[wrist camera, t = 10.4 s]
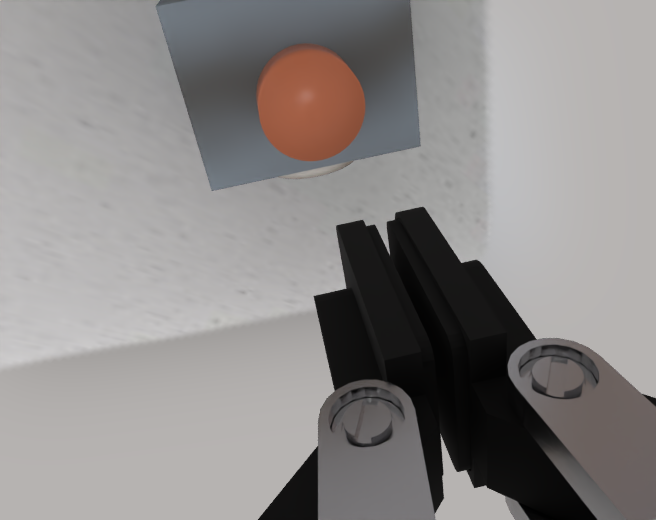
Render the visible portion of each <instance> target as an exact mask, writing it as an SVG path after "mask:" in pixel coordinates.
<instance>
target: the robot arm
mask: <svg viewBox="0 0 656 520" xmlns="http://www.w3.org/2000/svg"><path fill="white" fill-rule="evenodd" d="M336 230H337V236H338V242H339V248H340V253H341V259H342V265H343V270H344V276H345V282H346V288H347V289H343V290H339V291H334V292H330V293H326V294H321V295H317V296H314V300H315V304H316V309H317V314H318V318H319V322H320V327H321V332H322V336H323V341H324V345H325V350H326V354H327V359H328V363H329V368H330V372H331V377H332V381H333V385H334V389H335V392H334V393H333V394H331V395H330V396H329V397H328V398H327V399H326V401H325V402H324V404H323V406H322V408H321V409H320V414H319V419H318V446H317V448H316V449H315V450H314V451H313V452H312V454H311V455H310V456H309V457H308V459H307V460H306V461H305V462H304V464H303V465H302V466H301V467H300V469H299V470H298V471H297V472H296V473H295V475H294V476H293V477H292V478H291V480H290V481H289V482H288V483H287V484H286V486H285V487H284V488H283V489H282V491H281V492H280V493H279V494H278V496H277V497H276V498H275V499H274V500H273V502H272V503H271V504H270V505H269V507H268V508H267V509H266V510H265V512H264V513H263V514H262V515H261V516H260V518H259V519H258V520H435V513H436V511H437V509H438V507H439V506H440V504H441V502H442V500H443V499H444V495H443V482H442V476H443V463H442V449H441V436H442V438H443V440H444V443H445V446H446V448H447V450H448V453H449V455H450V458H451V460H452V463H453V465H454V467H455V469H456V471H457V472H460V471H464V470H467V472H468V475H469V477H470V479H471V482H472V484H473V486H474V488H477V487H481V486H485V485H486V486H487V488H489V489H491V490H494V491H496V492H498V493H500V494H502V495H504V496H505V499H506V503H507V505H508V508H509V510H510V512H511V514H512V515H513V517H514V519H515V520H656V398H653V397H650V396H647V395H644V394H641V393H640V392H639V391H638V390H637V389H636V388H635V387H633V386H632V385H631V384H630V383H629V382H628V381H627V380H626V379H625V378H624V377H622V375H620V374H619V373H618V372H617V371H616V370H615V369H614V368H613V367H612V366H611V365H610V364H608V363H607V362H606V361H605V360H604V359H603V358H602V357H601V356H600V355H598V354H597V353H595V352H594V351H593V350H591V349H590V348H588V347H586V346H584V345H582V344H579V343H577V342H574V341H569V340H564V339H560V338H542V339H538V340H537V339H536V338H535V336H534V335H533V334H532V332H531V331H530V330H529V328H528V327H527V325H526V324H525V323H524V321H523V320H522V318H521V317H520V316H519V314H518V313H517V312H516V310H515V309H514V307H513V306H512V305H511V303H510V302H509V301H508V299H507V298H506V296H505V295H504V294H503V292H502V291H501V289H500V288H499V287H498V285H497V284H496V282H495V281H494V280H493V278H492V277H491V276H490V274H489V273H488V271H487V270H486V269H485V267H484V266H483V265H482V264H481V262H480V261H478V260H473V261H468V262H464V263H461V262H460V261H459V259H458V258H457V256H456V254H455V253H454V251H453V250H452V248H451V247H450V245H449V244H448V242H447V241H446V239H445V238H444V236H443V235H442V233H441V232H440V230H439V229H438V227H437V226H436V224H435V223H434V221H433V220H432V218H431V217H430V215H429V214H428V212H427V211H426V209H425V208H424V207H419V208H414V209H410V210H405V211H401V212H396V214H395V220H393V221H388V222H387V233H388V241H389V249H390V255H389V253H388V251H387V249H386V247H385V245H384V242H383V240H382V238H381V236H380V234H379V232H378V230H377V228H376V226H375V225H370V226H366V225H365V223H364V221H363V220H360V221H355V222H350V223H346V224H341V225H337V226H336ZM440 434H441V436H440Z"/></svg>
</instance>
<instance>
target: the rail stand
mask: <svg viewBox="0 0 656 520" xmlns="http://www.w3.org/2000/svg"><path fill="white" fill-rule="evenodd" d="M156 9H157V12H158V15H159V19H160V22H161V25H162V29H163V32H164V35H165V38H166V42H167V45H168V48H169V52H170V55H171V58H172V61H173V65H174V68H175V71H176V75H177V78H178V81H179V84H180V88H181V91H182V94H183V98H184V101H185V104H186V107H187V111H188V114H189V117H190V120H191V124H192V127H193V130H194V134H195V137H196V140H197V143H198V147H199V150H200V153H201V157H202V160H203V163H204V166H205V170H206V173H207V176H208V180H209V183H210V186H211V189H212V191H214V190H219V189H223V188H228V187H233V186H237V185H242V184H247V183H251V182H256V181H261V180H265V179H270V178H275V177H280V178H286V179H302V178H311V177H317V176H321V175H325V174H329V173H332V172H334V171H337V170H339V169H342V168H344V167H346V166H347V165H349V164H351V163H352V162H353V161H354V160H359V159H363V158H368V157H373V156H377V155H382V154H387V153H391V152H396V151H401V150H405V149H410V148H415V147H419V146H421V145H420V131H419V117H418V104H417V90H416V76H415V63H414V49H413V35H412V22H411V8H410V0H160V1H159V3H158V4H157V6H156ZM303 43H309V44H317V45H321V46H324V47H326V48H328V49H330V50H332V51H333V52H335V53H336V54H337V55H339V56H340V57H341V58H342V59H343V61H344V62H345V63H346V64H347V65H348V67H349V68H350V69H351V71H352V72H353V73H354V74H355V76H356V77H357V79H358V80H359V82H360V84H361V87H362V89H363V92H364V97H365V116H364V120H363V123H362V126H361V129H360V131H359V133H358V134H357V136H356V137H355V139H354V140H353V141H352V143H351V144H350V145H349V146H348V147H347V148H345V149H344V150H343V151H341V152H340V153H338V154H336V155H335V156H332V157H330V158H327V159H324V160H319V161H301V160H297V159H294V158H291V157H288V156H287V155H285V154H283V153H281V152H280V151H279V150H277V149H276V148H275V147H274V146H273V145H272V144H271V143H270V141H269V140H268V139H267V137H266V135H265V134H264V131H263V129H262V126H261V123H260V118H259V112H258V106H257V100H256V90H257V84H258V79H259V77H260V74H261V72H262V70H263V68H264V67H265V65H266V64H267V63H268V61H269V60H270V59H271V58H272V57H273V56H274V55H276V54H277V53H278V52H280V51H281V50H283V49H285V48H287V47H290V46H293V45H296V44H303Z"/></svg>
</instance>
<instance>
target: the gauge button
mask: <svg viewBox="0 0 656 520" xmlns="http://www.w3.org/2000/svg"><path fill="white" fill-rule="evenodd" d="M256 100H257V106H258V112H259V118H260V123H261V126H262V129H263V131H264V134H265V135H266V137H267V139H268V140H269V141H270V143H271V144H272V145H273V146H274V147H275V148H276V149H277V150H279V151H280V152H281V153H283V154H285V155H287V156H288V157H291V158H294V159H297V160H301V161H319V160H324V159H327V158H330V157H332V156H335V155H336V154H338V153H340V152H341V151H343V150H344V149H345V148H347V147H348V146H349V145H350V144H351V143H352V141H353V140H354V139H355V137H356V136H357V134H358V133H359V131H360V129H361V126H362V123H363V120H364V116H365V97H364V92H363V89H362V87H361V84H360V82H359V80H358V79H357V77H356V76H355V74H354V73H353V72H352V71H351V69H350V68H349V67H348V65H347V64H346V63H345V62H344V61H343V59H342V58H341V57H340V56H339V55H337V54H336V53H335V52H333V51H332V50H330V49H328V48H326V47H324V46H321V45H317V44H309V43H303V44H296V45H293V46H290V47H287V48H285V49H283V50H281V51H280V52H278V53H277V54H276V55H274V56H273V57H272V58H271V59H270V60H269V61H268V63H267V64H266V65H265V67H264V68H263V70H262V72H261V74H260V77H259V79H258V84H257V90H256Z"/></svg>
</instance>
